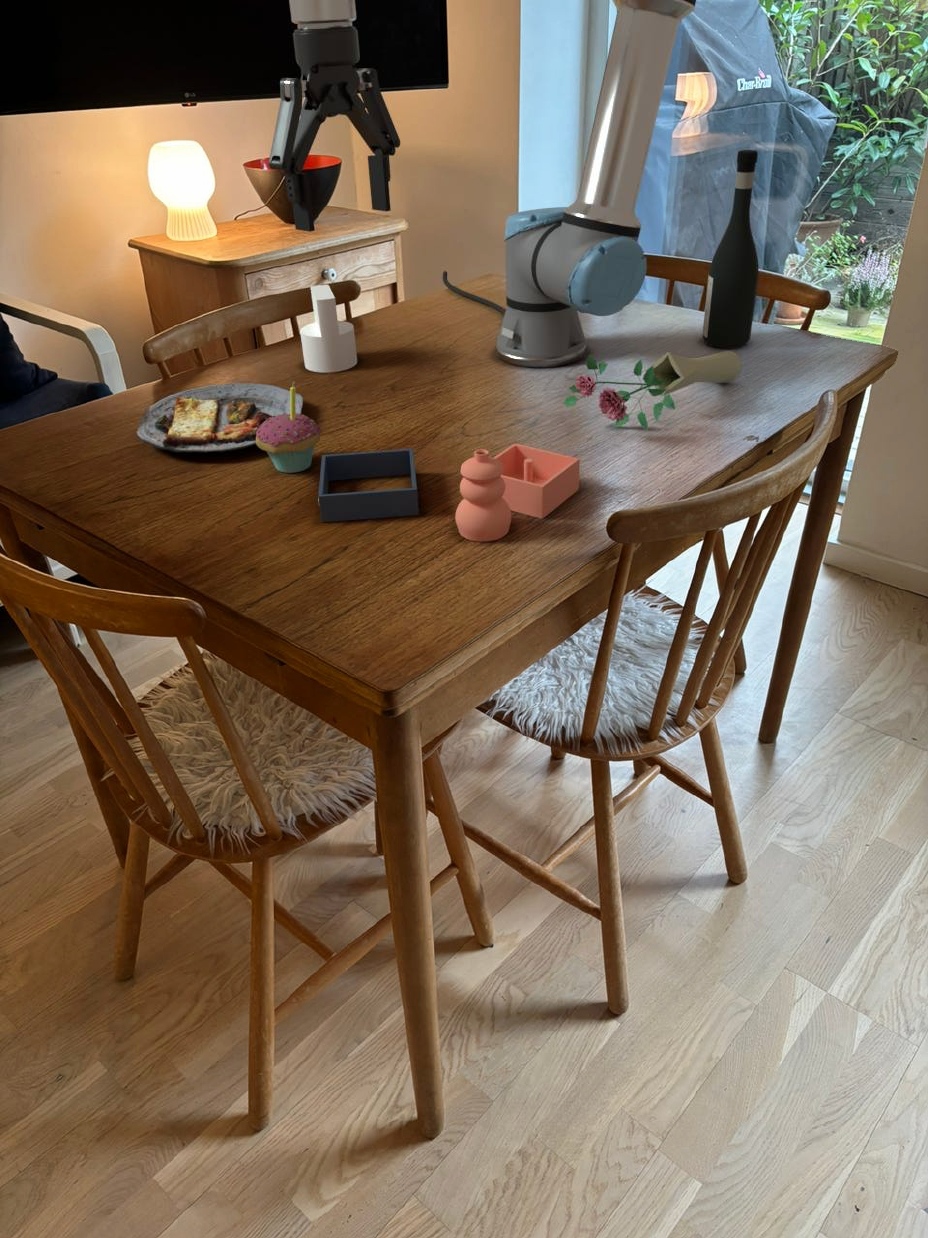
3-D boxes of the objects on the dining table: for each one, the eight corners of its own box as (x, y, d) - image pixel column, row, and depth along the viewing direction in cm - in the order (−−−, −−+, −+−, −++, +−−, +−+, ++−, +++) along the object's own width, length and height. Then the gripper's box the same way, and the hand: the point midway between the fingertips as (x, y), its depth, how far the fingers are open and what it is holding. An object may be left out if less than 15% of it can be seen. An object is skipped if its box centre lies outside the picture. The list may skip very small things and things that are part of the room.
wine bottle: (693, 344, 163) (712, 152, 147) (715, 332, 168) (736, 145, 152) (736, 353, 159) (760, 156, 142) (757, 340, 164) (784, 148, 147)
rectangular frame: (324, 479, 125) (321, 454, 123) (414, 472, 125) (412, 448, 123) (321, 522, 115) (317, 496, 113) (419, 515, 115) (417, 489, 114)
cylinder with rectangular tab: (361, 368, 160) (353, 296, 153) (307, 375, 158) (298, 302, 152) (353, 352, 167) (345, 282, 161) (302, 358, 166) (292, 287, 159)
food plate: (296, 458, 131) (293, 434, 129) (126, 469, 130) (120, 445, 128) (308, 393, 151) (305, 371, 149) (161, 402, 151) (156, 380, 149)
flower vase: (730, 435, 150) (609, 464, 125) (670, 395, 155) (543, 415, 130) (768, 367, 143) (649, 383, 118) (705, 328, 148) (577, 335, 123)
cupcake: (334, 456, 131) (323, 371, 124) (307, 482, 124) (294, 394, 117) (278, 450, 133) (265, 367, 126) (249, 476, 127) (233, 389, 120)
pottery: (514, 473, 124) (513, 401, 119) (578, 489, 120) (581, 415, 114) (434, 530, 112) (429, 454, 106) (502, 551, 107) (500, 472, 102)
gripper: (376, 19, 120) (390, 199, 132) (218, 32, 105) (250, 235, 117) (420, 18, 116) (430, 204, 128) (262, 32, 101) (290, 242, 112)
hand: (344, 219), depth 122 cm, fingers open, 13 cm apart
